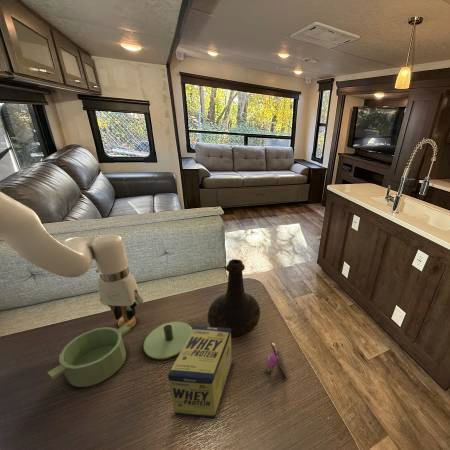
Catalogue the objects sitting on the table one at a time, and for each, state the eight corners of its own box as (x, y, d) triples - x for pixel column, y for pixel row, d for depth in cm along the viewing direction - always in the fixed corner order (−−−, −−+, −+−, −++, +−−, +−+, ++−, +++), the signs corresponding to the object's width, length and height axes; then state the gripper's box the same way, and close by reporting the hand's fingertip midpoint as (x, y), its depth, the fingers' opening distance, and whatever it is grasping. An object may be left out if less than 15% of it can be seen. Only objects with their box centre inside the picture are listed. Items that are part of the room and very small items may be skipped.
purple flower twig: (282, 364, 71) (273, 340, 78) (266, 374, 69) (257, 348, 77) (288, 376, 74) (278, 352, 82) (272, 386, 73) (264, 360, 80)
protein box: (174, 416, 62) (166, 375, 56) (199, 361, 76) (195, 323, 70) (215, 420, 62) (212, 379, 56) (232, 364, 77) (231, 326, 70)
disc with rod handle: (115, 325, 86) (110, 305, 82) (130, 317, 90) (126, 297, 86) (124, 332, 84) (119, 311, 80) (139, 322, 88) (134, 302, 84)
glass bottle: (203, 319, 92) (197, 254, 81) (248, 304, 101) (249, 244, 90) (217, 356, 78) (213, 285, 67) (267, 334, 88) (271, 269, 77)
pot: (45, 379, 68) (36, 360, 65) (119, 332, 83) (114, 315, 80) (70, 406, 62) (61, 386, 59) (144, 350, 78) (140, 333, 75)
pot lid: (134, 346, 79) (130, 333, 77) (174, 318, 91) (172, 305, 89) (164, 368, 73) (161, 354, 71) (202, 335, 85) (201, 322, 83)
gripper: (78, 278, 74) (92, 324, 81) (135, 281, 75) (144, 326, 83) (96, 264, 81) (108, 308, 88) (148, 267, 82) (155, 310, 89)
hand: (125, 316), depth 85 cm, fingers open, 3 cm apart
